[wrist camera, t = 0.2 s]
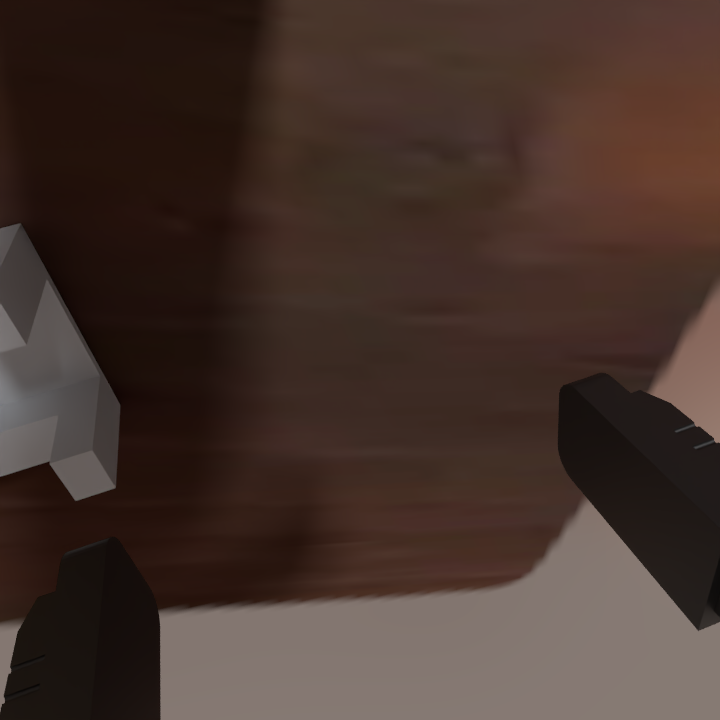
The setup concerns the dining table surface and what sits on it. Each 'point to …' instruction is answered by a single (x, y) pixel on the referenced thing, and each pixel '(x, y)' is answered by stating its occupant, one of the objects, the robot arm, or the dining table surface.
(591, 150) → the dining table surface
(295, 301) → the dining table surface
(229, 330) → the dining table surface
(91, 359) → the white peg rack
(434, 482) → the dining table surface
